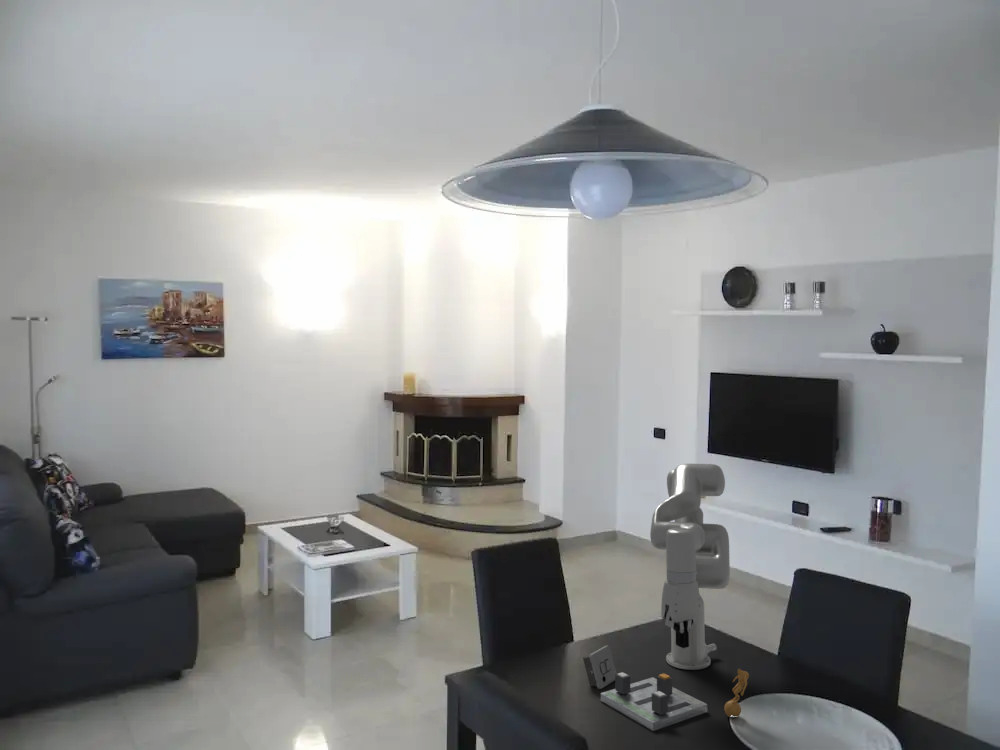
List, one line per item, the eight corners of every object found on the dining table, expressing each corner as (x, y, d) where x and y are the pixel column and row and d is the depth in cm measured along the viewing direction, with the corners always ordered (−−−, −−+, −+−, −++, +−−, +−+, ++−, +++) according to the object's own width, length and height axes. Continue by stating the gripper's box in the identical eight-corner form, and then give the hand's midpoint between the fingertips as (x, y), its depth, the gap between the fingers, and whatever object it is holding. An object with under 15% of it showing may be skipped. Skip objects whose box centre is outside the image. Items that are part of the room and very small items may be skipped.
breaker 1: (622, 687, 210) (622, 671, 210) (630, 691, 207) (630, 675, 207) (615, 690, 208) (615, 673, 208) (622, 694, 206) (622, 677, 206)
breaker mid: (664, 689, 208) (663, 672, 208) (672, 694, 205) (672, 676, 205) (657, 692, 207) (656, 674, 206) (665, 696, 204) (664, 678, 204)
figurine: (720, 709, 201) (720, 662, 201) (745, 709, 201) (744, 662, 201) (728, 724, 193) (727, 675, 193) (753, 725, 193) (753, 675, 192)
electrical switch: (600, 690, 214) (596, 656, 214) (584, 688, 217) (580, 653, 218) (618, 679, 221) (614, 645, 222) (602, 676, 225) (598, 643, 225)
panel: (652, 684, 217) (652, 676, 217) (707, 712, 200) (707, 703, 200) (600, 700, 208) (600, 692, 208) (653, 731, 191) (652, 722, 191)
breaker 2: (659, 707, 198) (659, 690, 198) (667, 712, 195) (667, 694, 195) (651, 710, 196) (651, 692, 196) (660, 714, 194) (660, 696, 194)
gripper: (691, 569, 215) (692, 636, 216) (649, 577, 208) (650, 647, 208) (712, 575, 209) (713, 644, 209) (670, 584, 201) (671, 656, 201)
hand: (682, 646), depth 209 cm, fingers closed
